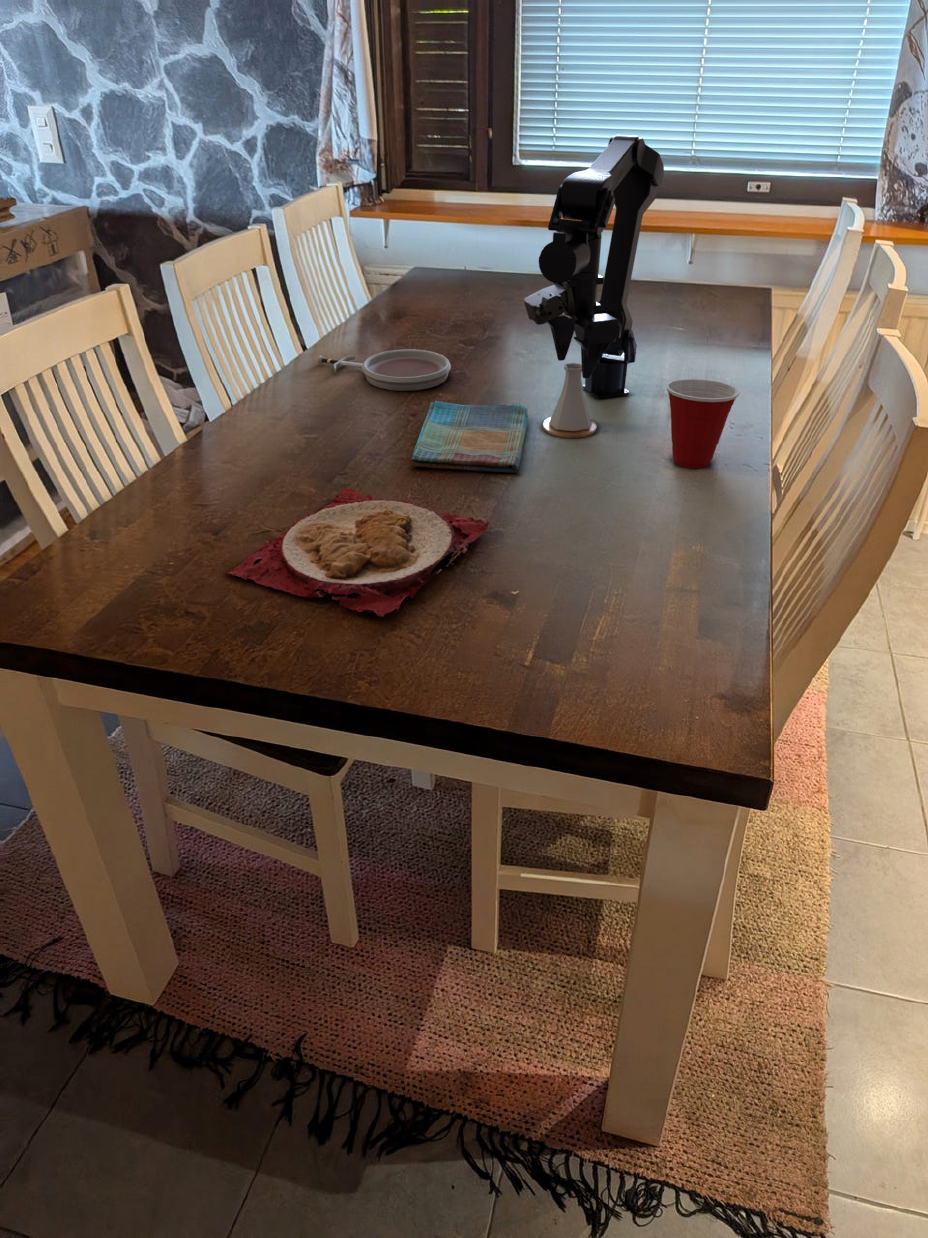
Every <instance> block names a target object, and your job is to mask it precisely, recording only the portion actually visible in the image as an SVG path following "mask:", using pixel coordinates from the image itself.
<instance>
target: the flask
mask: <svg viewBox="0 0 928 1238" xmlns="http://www.w3.org/2000/svg"><path fill="white" fill-rule="evenodd" d="M563 370H565V375H564V381H563V386H562V390H561V392H560V394H559V397H558V400H557V403H556V405H555V407H554V410H553V411H552V414H551V416H550V417H551V419H550V422H549V424H550V425H552V426H553V427H554V428H555V429H557V430H567V431H578V430H583V429H589V428H590V425H591V420H592V418H591V415H590V411H589V408H588V405H587V402H586V398H585V394H584V390H583V389H584V388H583V382H582V363H580V362H579V363H578V362H568V363H565V364H564V366H563Z"/></svg>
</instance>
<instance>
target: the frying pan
mask: <svg viewBox="0 0 928 1238" xmlns="http://www.w3.org/2000/svg"><path fill="white" fill-rule="evenodd" d="M354 360H356V355H355V354H353V355H348V356H344V357H342V358H341V359H332V358H324V357H323V356H322V355H319V356H317V357H316V359H315V361H316V363H317V364H318V365H323V364H329V365H333V370H334V373H337V368H338V367H340V366H344V367H352V368H360V369H361V372H362V373H363V374H364V376H365V378H366V381H367V382H368V383H369V384H370V385H372V386H374V387H376V388H378V389H379V388H380V389H383V390H384V389H385V390H389V391H401V392H406V391H407V392H408V391H409V392H410V391H420V390H427V389H430V388H434V387H436V386H437V387H438V386H439V385H441V384H443V383H445V381H446V380H447V378H448V376H449V372H450V371H451V369H452V365H451V362H450V360H449V359H448V358H447V357H445V355H443V354H441V353H437V352H435V351H429V350H425V349H412V348H411V349H410V348H409V349H393V350H386V351H383V352H379V353H375V354H373V355H370V356H369V357H367V358H366V359H365V360H364V362H363V363H362V362H353V361H354Z"/></svg>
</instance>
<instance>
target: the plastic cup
mask: <svg viewBox="0 0 928 1238" xmlns="http://www.w3.org/2000/svg"><path fill="white" fill-rule="evenodd" d="M665 387H666V392H667V393H668V400H669V407H670V408H669V409H670V431H671V432H670V434H671V436H670V437H671V438H670V439H671V446H672V447H671V448H672V449H671V451H672V460H673V462H674V463H675V464H676V465H678V466H680V467H684V468H687V469H702V468H706V467H708V466H709V465H710V464H711V461H712V460H713V458H714V456H715V455H714V454H715V452H716V449H717V446H718V444H719V442H720V440H721V437H722V434H723V432H724V428H725V426H726V422H727V419H728V416H729V413H730V412H731V410H732V407H733V405H734V403H735V401H736V399H737V398H738V397H739V396H740V394H741V392H740V390H739V388H737V387H736V386H733V385H732V384H729V383H726V382H722V381H717V380H711V379H701V378H680V379H675V380H670V381H669V382H668V383H666V384H665Z"/></svg>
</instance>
